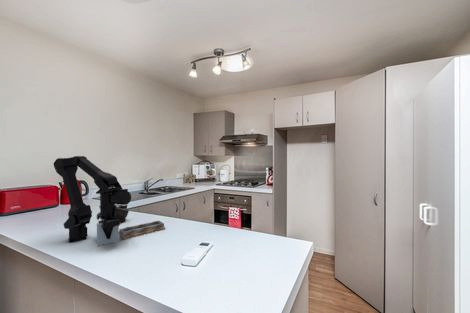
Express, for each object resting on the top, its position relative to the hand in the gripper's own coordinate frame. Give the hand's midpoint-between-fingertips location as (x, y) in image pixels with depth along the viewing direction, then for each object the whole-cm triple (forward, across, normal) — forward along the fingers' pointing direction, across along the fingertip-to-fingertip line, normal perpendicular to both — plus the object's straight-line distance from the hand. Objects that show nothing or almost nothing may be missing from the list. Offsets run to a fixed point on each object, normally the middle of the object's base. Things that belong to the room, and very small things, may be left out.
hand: (107, 237), depth 94 cm
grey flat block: (+2, 0, 0) cm, 2 cm away
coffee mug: (+2, +30, -12) cm, 32 cm away
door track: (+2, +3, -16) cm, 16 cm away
